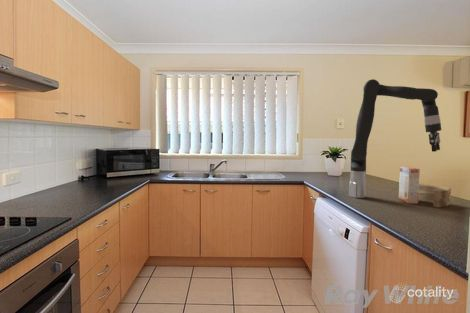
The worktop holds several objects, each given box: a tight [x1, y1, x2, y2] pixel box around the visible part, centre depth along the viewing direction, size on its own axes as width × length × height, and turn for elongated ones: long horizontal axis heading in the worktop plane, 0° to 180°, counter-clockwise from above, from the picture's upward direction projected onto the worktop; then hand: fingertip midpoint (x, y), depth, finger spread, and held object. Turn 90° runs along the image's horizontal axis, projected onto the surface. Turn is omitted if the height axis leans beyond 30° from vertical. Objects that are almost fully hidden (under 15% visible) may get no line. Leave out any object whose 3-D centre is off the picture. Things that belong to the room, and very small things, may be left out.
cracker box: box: [398, 165, 420, 205], centre depth 167 cm, size 14×6×21 cm, turn 168°
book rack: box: [418, 182, 452, 208], centre depth 164 cm, size 10×21×10 cm, turn 20°
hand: (436, 150), depth 162 cm, fingers open, 8 cm apart
